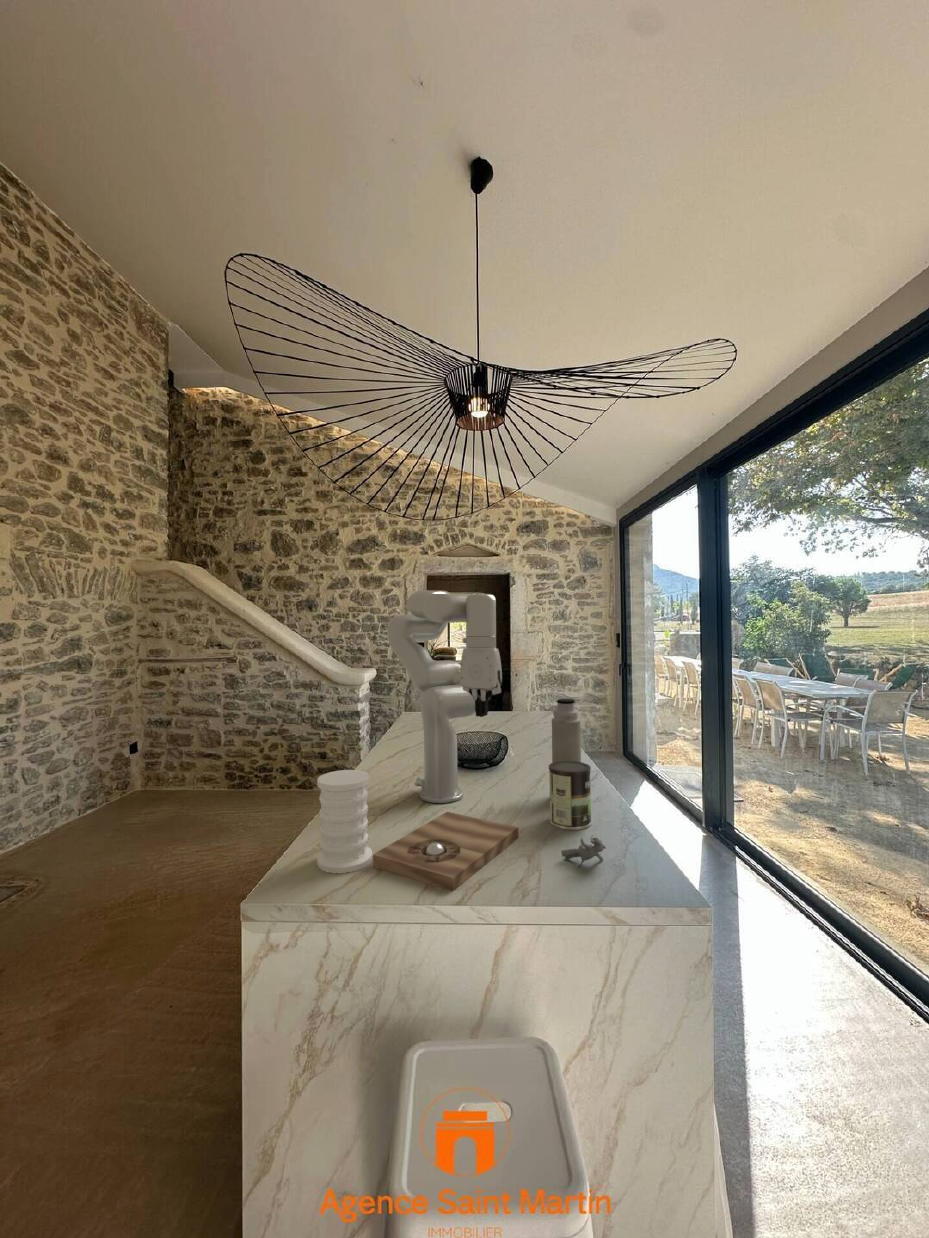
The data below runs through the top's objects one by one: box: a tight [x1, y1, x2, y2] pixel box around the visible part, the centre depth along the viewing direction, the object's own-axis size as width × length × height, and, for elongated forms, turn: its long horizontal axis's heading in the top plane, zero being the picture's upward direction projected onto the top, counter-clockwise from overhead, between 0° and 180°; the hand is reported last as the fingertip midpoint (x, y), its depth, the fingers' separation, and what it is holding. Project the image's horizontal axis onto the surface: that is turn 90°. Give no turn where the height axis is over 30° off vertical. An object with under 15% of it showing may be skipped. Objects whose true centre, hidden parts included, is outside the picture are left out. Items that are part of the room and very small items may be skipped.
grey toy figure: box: [560, 834, 606, 868], centre depth 113 cm, size 10×6×9 cm
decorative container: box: [316, 769, 373, 874], centre depth 116 cm, size 12×12×18 cm
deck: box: [372, 811, 519, 892], centre depth 120 cm, size 28×20×2 cm
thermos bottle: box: [551, 698, 582, 763], centre depth 153 cm, size 8×8×28 cm
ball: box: [426, 842, 445, 856], centre depth 115 cm, size 4×4×4 cm
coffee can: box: [548, 761, 592, 831], centre depth 135 cm, size 10×10×14 cm
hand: (481, 715), depth 137 cm, fingers closed
